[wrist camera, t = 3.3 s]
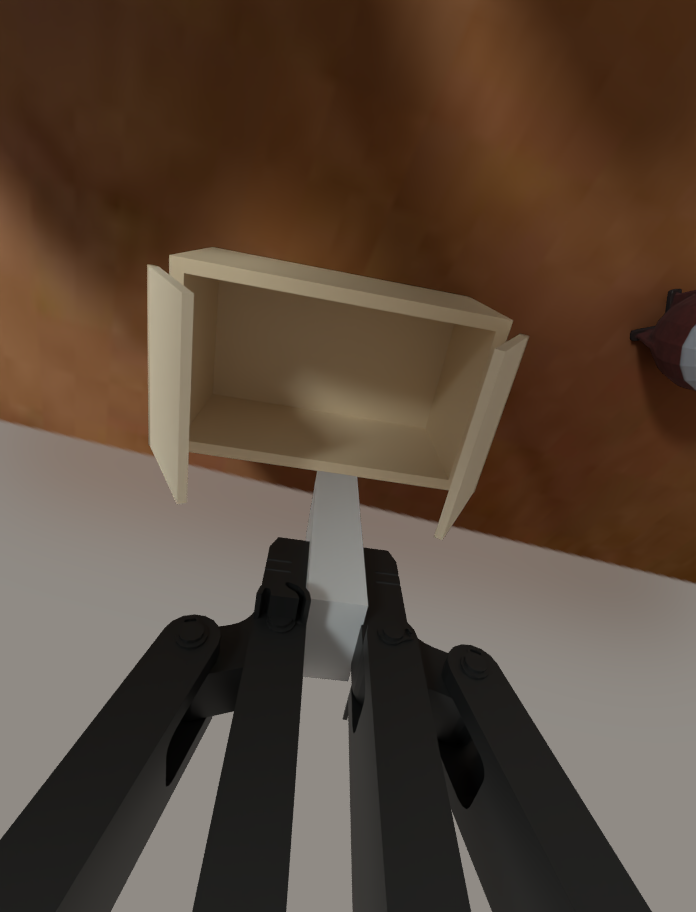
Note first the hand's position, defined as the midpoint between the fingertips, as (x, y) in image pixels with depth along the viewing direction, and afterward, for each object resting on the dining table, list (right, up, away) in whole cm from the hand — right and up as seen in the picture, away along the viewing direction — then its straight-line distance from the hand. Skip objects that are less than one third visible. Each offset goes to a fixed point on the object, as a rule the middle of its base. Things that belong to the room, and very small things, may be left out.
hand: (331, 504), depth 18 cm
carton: (-1, +11, +21) cm, 23 cm away
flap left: (-11, +7, +10) cm, 16 cm away
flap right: (+10, +4, +12) cm, 16 cm away
